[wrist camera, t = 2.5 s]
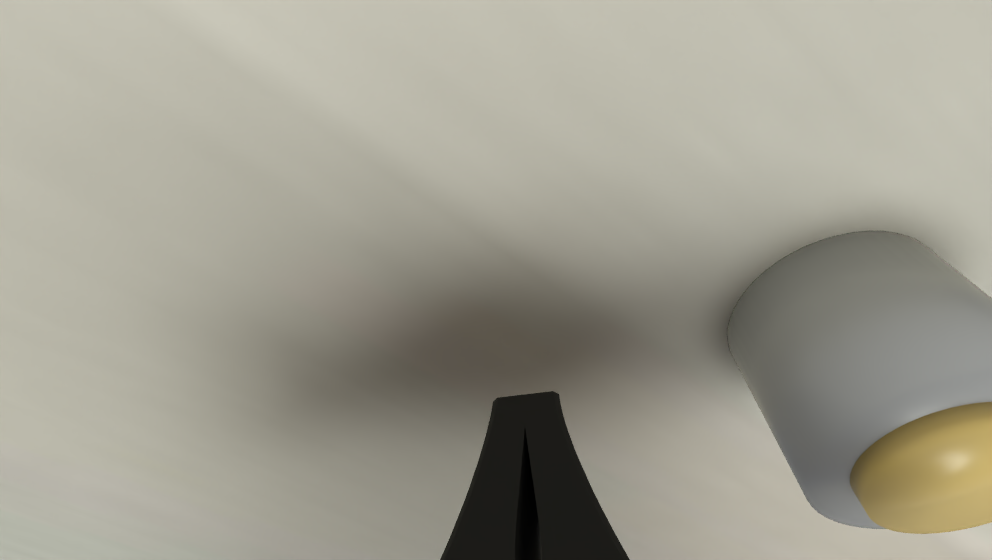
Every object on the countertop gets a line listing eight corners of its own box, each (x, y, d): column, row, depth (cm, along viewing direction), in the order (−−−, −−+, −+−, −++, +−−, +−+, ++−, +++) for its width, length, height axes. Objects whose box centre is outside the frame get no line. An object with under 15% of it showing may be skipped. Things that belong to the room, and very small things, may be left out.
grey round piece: (719, 392, 14) (797, 562, 10) (736, 248, 11) (850, 412, 8) (906, 370, 13) (1057, 542, 10) (973, 213, 11) (1220, 372, 7)
